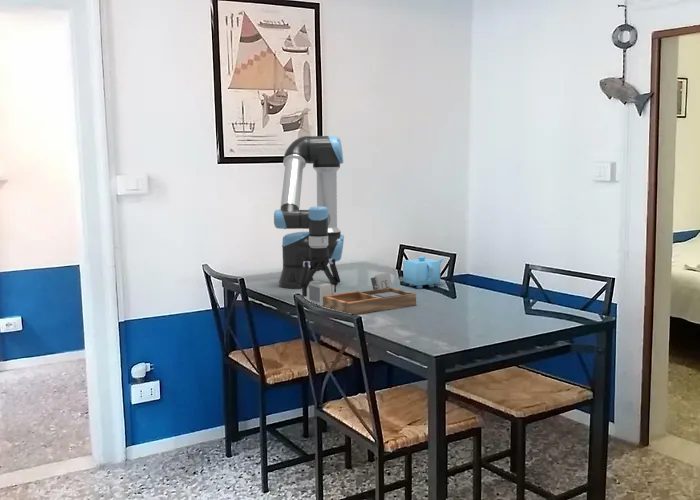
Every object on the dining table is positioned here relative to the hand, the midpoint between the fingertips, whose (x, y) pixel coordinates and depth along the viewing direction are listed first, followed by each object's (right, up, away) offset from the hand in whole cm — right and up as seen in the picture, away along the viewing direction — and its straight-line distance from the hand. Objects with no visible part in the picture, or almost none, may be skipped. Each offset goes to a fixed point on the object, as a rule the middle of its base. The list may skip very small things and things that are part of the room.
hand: (319, 302), depth 296 cm
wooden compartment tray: (+19, -1, -7) cm, 21 cm away
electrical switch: (+25, +2, +15) cm, 29 cm away
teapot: (+46, +5, +36) cm, 58 cm away
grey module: (+26, -1, -4) cm, 27 cm away
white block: (0, 0, 0) cm, 0 cm away
